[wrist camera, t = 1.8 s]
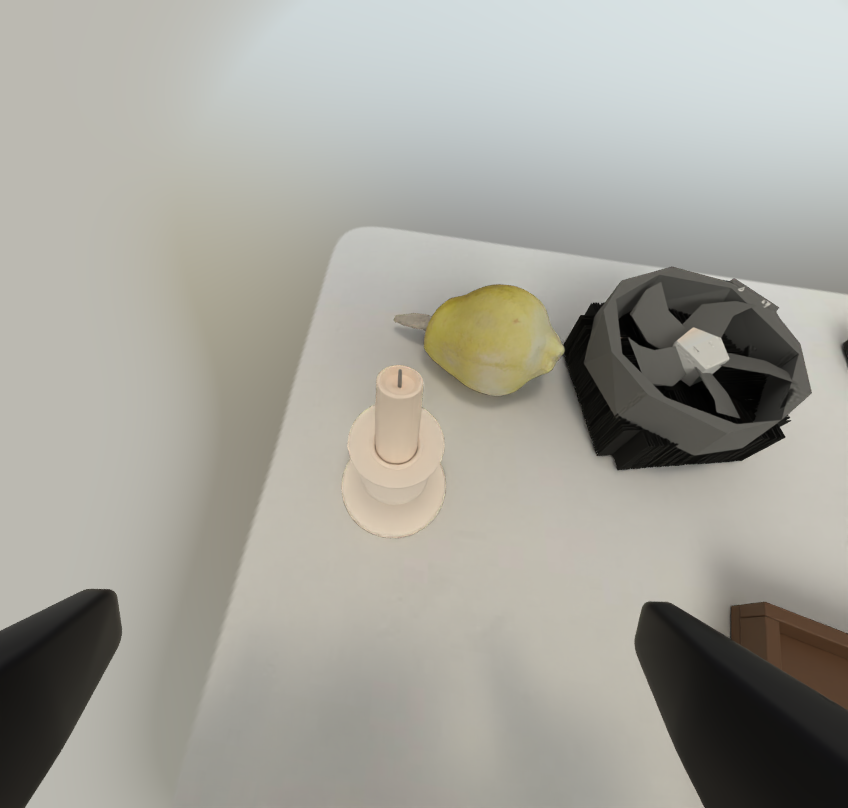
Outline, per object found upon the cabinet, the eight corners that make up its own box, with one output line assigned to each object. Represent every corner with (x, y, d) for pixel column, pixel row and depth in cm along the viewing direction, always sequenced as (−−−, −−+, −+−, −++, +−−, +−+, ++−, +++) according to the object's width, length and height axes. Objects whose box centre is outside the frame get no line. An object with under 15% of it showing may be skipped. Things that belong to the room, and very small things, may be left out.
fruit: (412, 298, 28) (565, 327, 26) (385, 380, 27) (544, 419, 25) (394, 242, 23) (586, 273, 21) (358, 342, 21) (560, 387, 19)
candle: (355, 432, 23) (337, 292, 14) (450, 449, 23) (493, 319, 14) (330, 528, 20) (286, 432, 11) (437, 547, 20) (479, 465, 11)
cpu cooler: (649, 436, 18) (579, 264, 23) (591, 482, 23) (545, 333, 28) (864, 422, 19) (754, 262, 24) (765, 469, 24) (691, 328, 29)
